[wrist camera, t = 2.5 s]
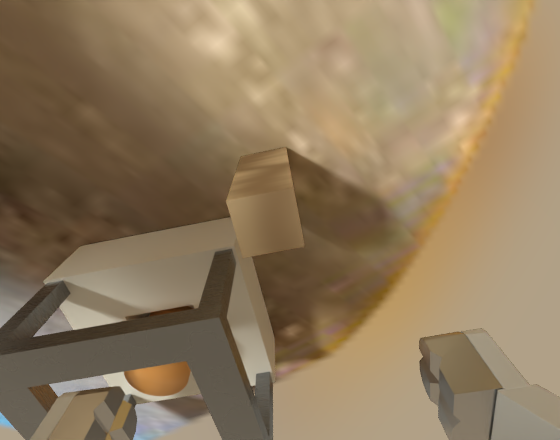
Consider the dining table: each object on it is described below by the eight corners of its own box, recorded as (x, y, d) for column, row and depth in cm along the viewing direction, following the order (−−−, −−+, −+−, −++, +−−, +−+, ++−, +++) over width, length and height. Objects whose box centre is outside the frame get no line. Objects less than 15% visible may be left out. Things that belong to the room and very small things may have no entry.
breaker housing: (142, 360, 33) (122, 406, 29) (80, 246, 28) (42, 281, 23) (274, 338, 33) (275, 382, 28) (240, 215, 27) (234, 245, 22)
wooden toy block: (251, 198, 26) (242, 258, 18) (240, 156, 25) (225, 200, 16) (294, 189, 26) (304, 246, 18) (285, 146, 24) (293, 187, 16)
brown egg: (159, 346, 28) (138, 400, 23) (140, 307, 26) (113, 357, 22) (208, 338, 28) (196, 391, 23) (193, 298, 26) (176, 347, 21)
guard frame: (122, 406, 29) (80, 501, 23) (42, 281, 23) (-44, 363, 17) (275, 382, 28) (276, 474, 22) (234, 245, 22) (219, 317, 16)
